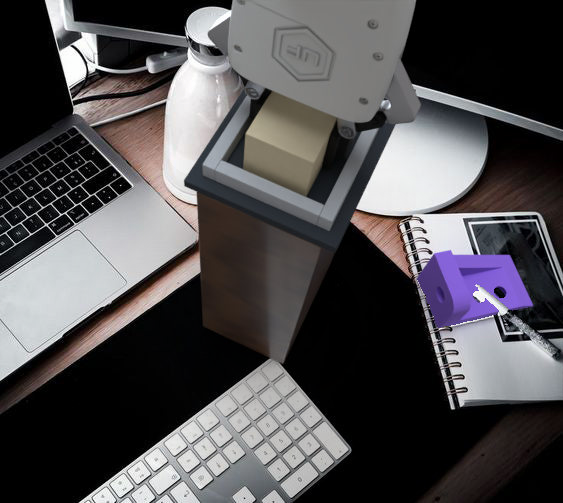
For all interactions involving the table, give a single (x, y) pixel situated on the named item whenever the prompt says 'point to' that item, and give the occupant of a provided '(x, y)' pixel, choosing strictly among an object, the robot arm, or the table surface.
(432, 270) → the bracket
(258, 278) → the riser
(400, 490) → the table surface
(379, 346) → the table surface
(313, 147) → the beige rectangular block
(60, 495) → the table surface
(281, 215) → the base pad
